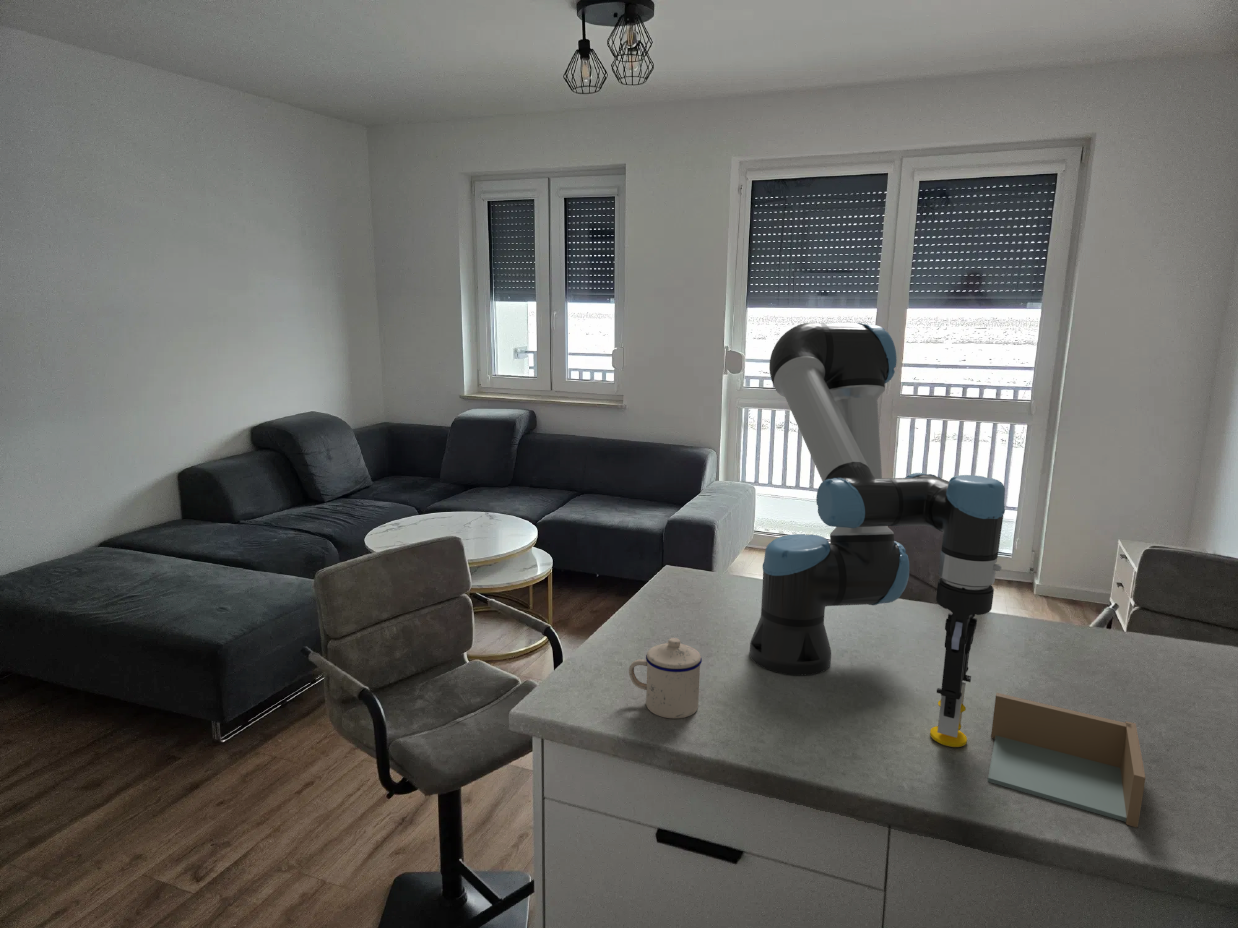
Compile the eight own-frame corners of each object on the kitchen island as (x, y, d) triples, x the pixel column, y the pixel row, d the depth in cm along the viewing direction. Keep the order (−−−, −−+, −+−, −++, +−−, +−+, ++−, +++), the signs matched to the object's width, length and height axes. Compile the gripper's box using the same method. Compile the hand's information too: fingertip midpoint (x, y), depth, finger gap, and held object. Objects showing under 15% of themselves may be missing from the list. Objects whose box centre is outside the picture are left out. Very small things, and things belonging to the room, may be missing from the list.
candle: (924, 727, 116) (934, 634, 113) (958, 729, 116) (968, 636, 113) (937, 746, 111) (948, 649, 108) (972, 747, 110) (984, 650, 107)
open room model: (982, 782, 102) (987, 735, 101) (991, 732, 115) (996, 690, 114) (1137, 827, 93) (1145, 777, 92) (1128, 767, 106) (1135, 723, 105)
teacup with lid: (703, 697, 125) (706, 632, 123) (694, 724, 116) (697, 654, 114) (635, 686, 128) (637, 623, 126) (621, 712, 119) (622, 644, 117)
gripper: (989, 604, 99) (970, 761, 104) (998, 570, 114) (981, 709, 118) (929, 593, 103) (913, 745, 107) (946, 561, 117) (931, 697, 122)
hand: (949, 726), depth 113 cm, fingers closed on candle, 4 cm apart
